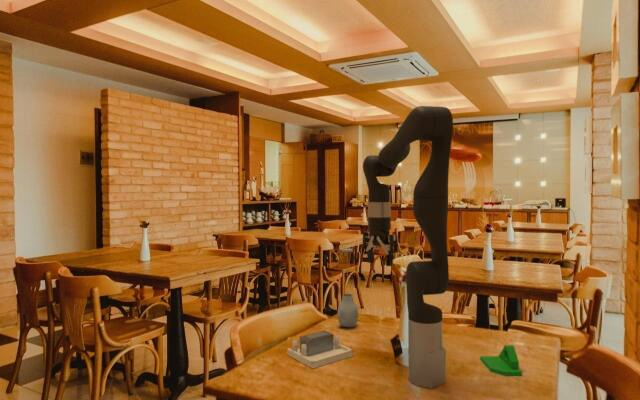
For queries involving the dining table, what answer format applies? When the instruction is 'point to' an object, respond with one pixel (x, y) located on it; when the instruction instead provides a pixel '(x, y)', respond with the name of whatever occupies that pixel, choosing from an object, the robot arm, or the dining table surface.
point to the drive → (317, 342)
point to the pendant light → (347, 306)
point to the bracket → (503, 362)
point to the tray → (320, 354)
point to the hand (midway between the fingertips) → (379, 264)
